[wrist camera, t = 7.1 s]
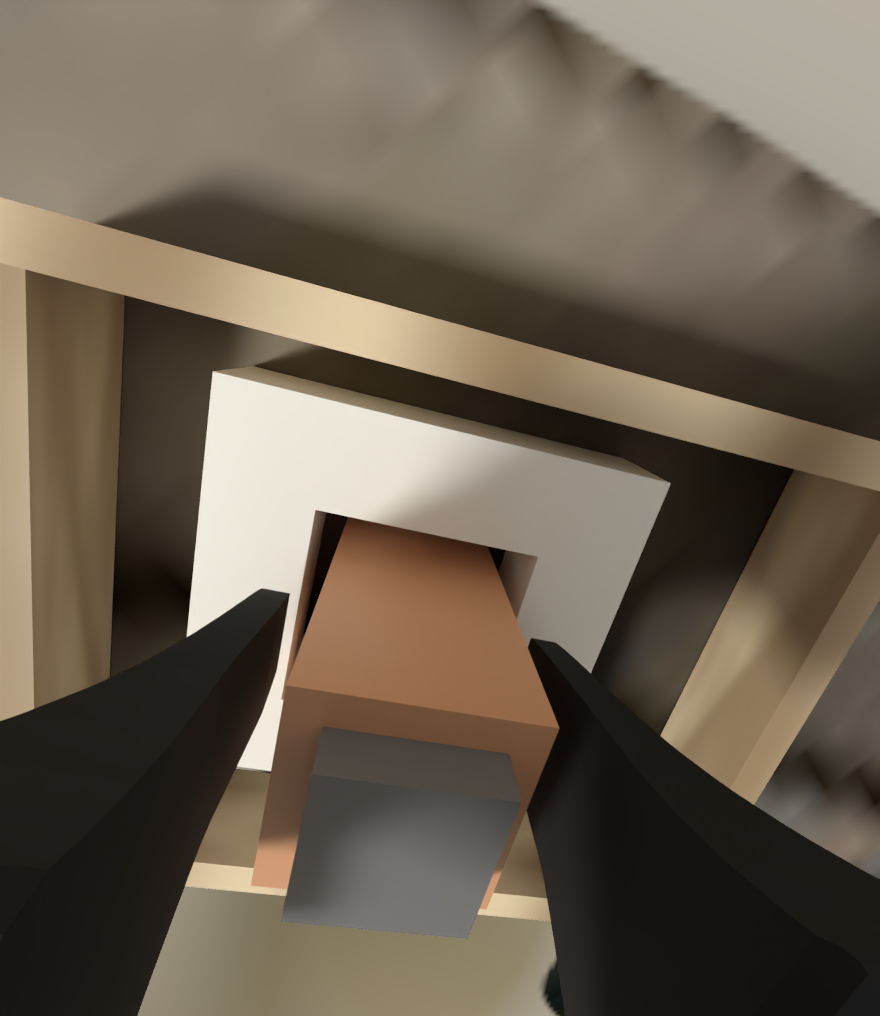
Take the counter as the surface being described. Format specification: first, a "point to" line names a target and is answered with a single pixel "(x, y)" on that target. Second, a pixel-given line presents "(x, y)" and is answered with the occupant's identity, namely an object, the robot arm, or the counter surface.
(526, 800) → the peg
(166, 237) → the counter surface
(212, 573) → the tray
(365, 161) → the counter surface
